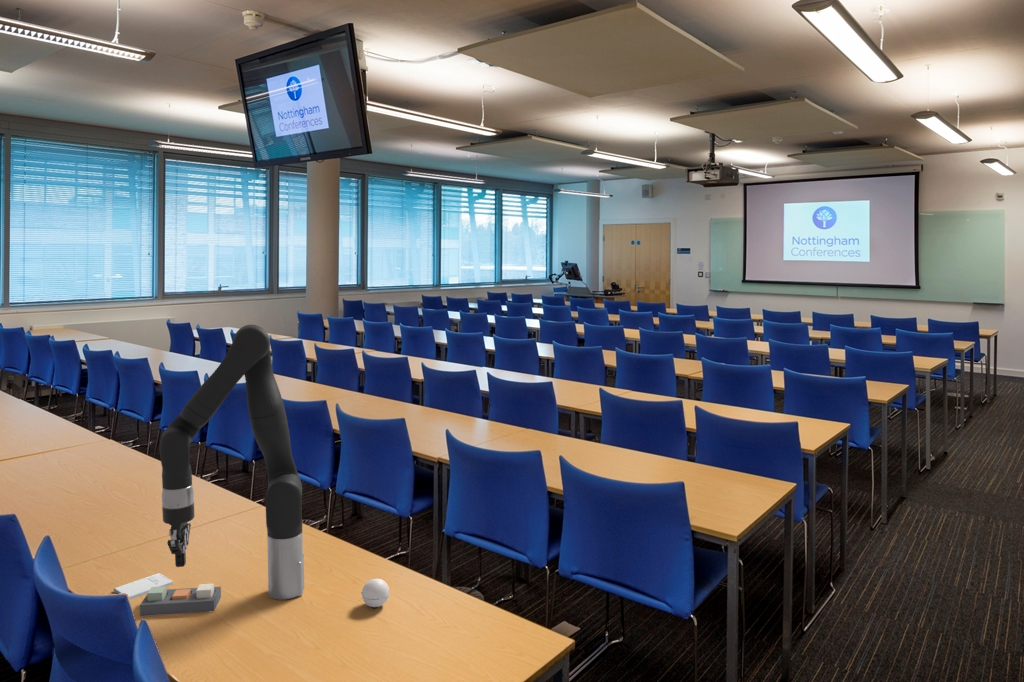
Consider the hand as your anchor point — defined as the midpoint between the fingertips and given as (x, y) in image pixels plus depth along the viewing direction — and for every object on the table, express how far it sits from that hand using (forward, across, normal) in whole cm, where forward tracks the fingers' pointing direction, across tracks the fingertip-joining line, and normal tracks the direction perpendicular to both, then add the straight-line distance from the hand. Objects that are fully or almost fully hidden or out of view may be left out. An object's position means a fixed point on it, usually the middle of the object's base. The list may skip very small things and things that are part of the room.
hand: (180, 565), depth 186 cm
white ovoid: (+12, -8, -49) cm, 51 cm away
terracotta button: (+11, 0, 0) cm, 11 cm away
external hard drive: (+12, +12, +13) cm, 22 cm away
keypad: (+11, 0, 0) cm, 11 cm away
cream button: (+10, 0, -6) cm, 11 cm away
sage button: (+10, 0, +6) cm, 11 cm away
